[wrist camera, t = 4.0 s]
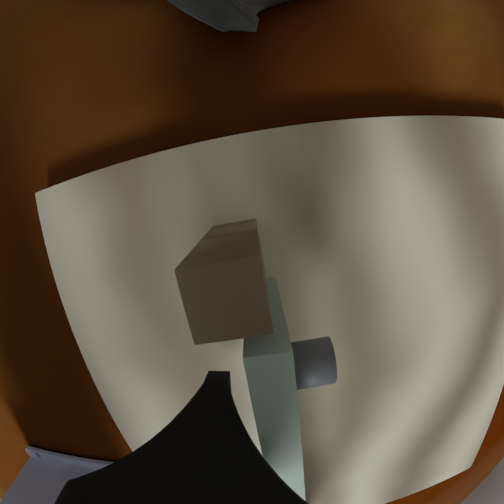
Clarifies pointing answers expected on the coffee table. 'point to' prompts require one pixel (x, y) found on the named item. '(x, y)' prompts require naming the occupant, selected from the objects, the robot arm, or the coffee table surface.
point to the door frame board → (301, 286)
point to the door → (284, 388)
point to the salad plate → (226, 12)
